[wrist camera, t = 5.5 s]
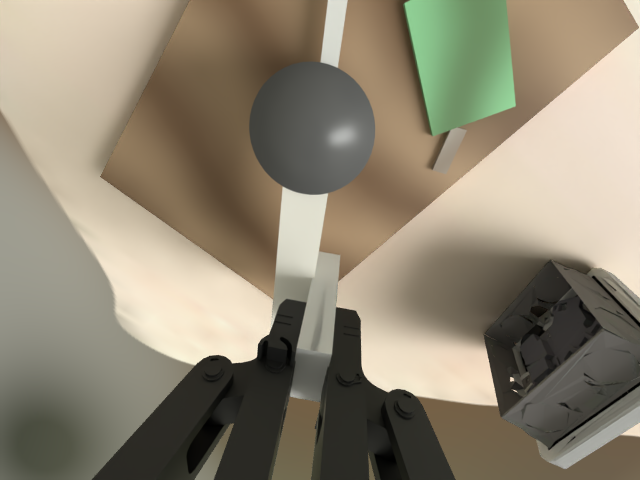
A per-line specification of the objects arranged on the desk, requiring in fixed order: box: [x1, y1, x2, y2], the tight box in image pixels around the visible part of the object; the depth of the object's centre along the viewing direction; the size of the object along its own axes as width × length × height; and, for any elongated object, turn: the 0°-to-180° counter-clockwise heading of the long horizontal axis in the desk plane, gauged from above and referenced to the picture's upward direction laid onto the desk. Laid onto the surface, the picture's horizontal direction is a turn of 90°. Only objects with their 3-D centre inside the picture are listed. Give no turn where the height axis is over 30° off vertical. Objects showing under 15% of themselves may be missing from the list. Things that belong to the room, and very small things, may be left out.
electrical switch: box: [484, 260, 640, 469], centre depth 18 cm, size 9×5×9 cm, turn 160°
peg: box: [249, 0, 375, 328], centre depth 14 cm, size 22×4×6 cm, turn 172°
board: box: [100, 0, 639, 299], centre depth 16 cm, size 24×16×2 cm, turn 139°
